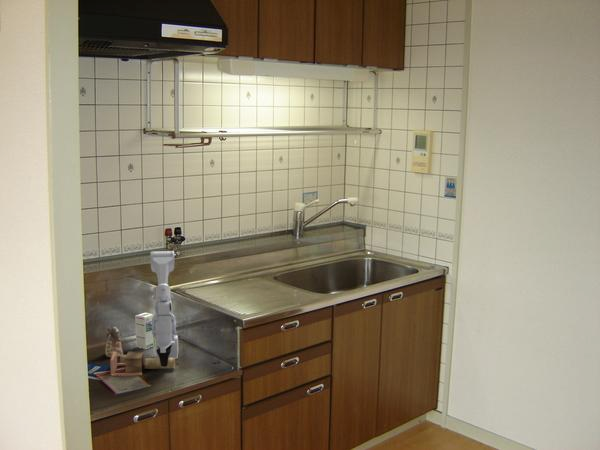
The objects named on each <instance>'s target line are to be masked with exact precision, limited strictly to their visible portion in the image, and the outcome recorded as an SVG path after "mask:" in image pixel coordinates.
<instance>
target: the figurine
mask: <svg viewBox="0 0 600 450" xmlns="http://www.w3.org/2000/svg"><path fill="white" fill-rule="evenodd" d="M106 330H107V333H106V339H107V341H106V344H105V352H104V353H105V356H106V357H108V358H112V355H113V353H114V352H117V358H118V357H120V356H121V355H124V351H123V350H124V349H123V346H122V341H121V339H122V333H121V332H120V330H119V328H117V327H116V326H113V327H112V328H110V327H109V326H108V327H107V328H106ZM109 335H110V336H109Z"/></svg>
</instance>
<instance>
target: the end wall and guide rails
mask: <svg viewBox="0 0 600 450" xmlns="http://www.w3.org/2000/svg"><path fill="white" fill-rule="evenodd" d="M109 364H110V375H111V374H113V375H114V376H113V375H112V376H113V377H127V376H129V377H130V376H131V377H132V376H143V372H142V373H125V372H121V373H116V369H117V368H118V366H119V367H120V366H121V367H122V366H124V367H125V363H120V362H118V357H117V352H114V353H113V355H112V357H110V363H109ZM144 366H145V361H144ZM114 372H115V373H114ZM117 375H118V376H117ZM120 375H121V376H120Z"/></svg>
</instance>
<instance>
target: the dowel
mask: <svg viewBox="0 0 600 450" xmlns="http://www.w3.org/2000/svg"><path fill="white" fill-rule="evenodd" d="M144 362H145V365H144V369H146V370H147V369H148V370H151V369H153V370H155V369H176V359H175V358H168V364H167V367H162V366H161V363H160V358H154V357H150V358H149V357H148V358H147V357H146V358H144Z"/></svg>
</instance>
